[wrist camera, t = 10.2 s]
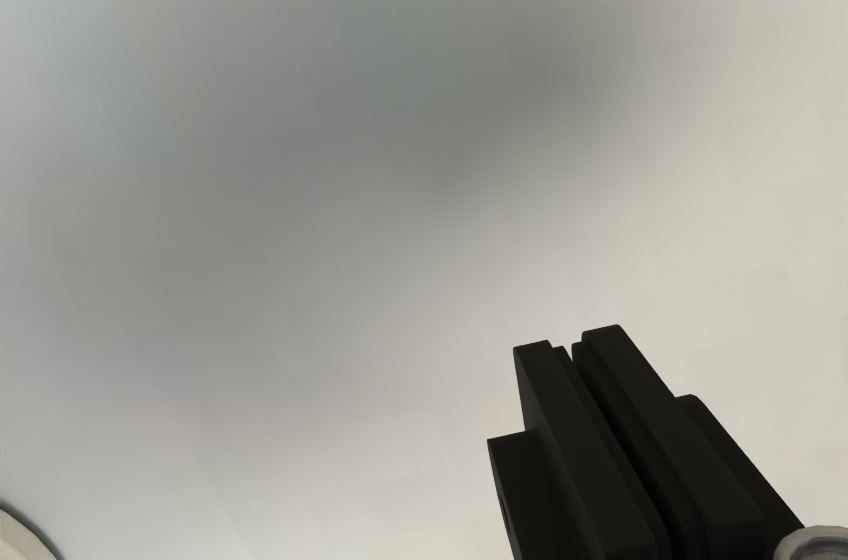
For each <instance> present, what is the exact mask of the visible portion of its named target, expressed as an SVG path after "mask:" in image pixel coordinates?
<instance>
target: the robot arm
mask: <svg viewBox="0 0 848 560" xmlns="http://www.w3.org/2000/svg"><path fill="white" fill-rule="evenodd" d="M571 349H572V360H573V362H572V360H571V358H570V356H569V355H568V353H567V351H566V349H565V348H564V346H559V347H554V348H552V346H551V344H550V342H549V341H548V340H543V341H539V342H535V343H530V344H526V345H521V346H517V347H514V348H513V355H514V362H515V368H516V375H517V381H518V387H519V394H520V400H521V407H522V413H523V419H524V426H525V431H523V432H518V433H514V434H509V435H505V436H500V437H496V438H492V439H487V444H488V450H489V456H490V461H491V466H492V471H493V476H494V481H495V486H496V490H497V495H498V499H499V503H500V508H501V512H502V516H503V520H504V524H505V527H506V531H507V535H508V538H509V542H510V546H511V549H512V553H513V556H514V560H848V528H845V527H841V526H820V525H816V526H812V527H807V528H805V526H804V525H803V524H802V523H801V522H800V520H799V519H798V518H797V517H796V516H795V514H794V513H793V512H792V511H791V509H790V508H789V507H788V506H787V505H786V503H785V502H784V501H783V500H782V498H781V497H780V496H779V495H778V494H777V492H776V491H775V490H774V489H773V487H772V486H771V485H770V484H769V483H768V481H767V480H766V479H765V478H764V476H763V475H762V474H761V473H760V472H759V470H758V469H757V468H756V467H755V465H754V464H753V463H752V462H751V461H750V459H749V458H748V457H747V456H746V454H745V453H744V452H743V451H742V450H741V448H740V447H739V446H738V445H737V444H736V442H735V441H734V440H733V439H732V437H731V436H730V435H729V434H728V433H727V431H726V430H725V429H724V428H723V426H722V425H721V424H720V423H719V422H718V420H717V419H716V418H715V417H714V415H713V414H712V413H711V412H710V411H709V409H708V408H707V407H706V406H705V404H704V403H703V402H702V401H701V400H700V399H699V398H698V397H697V396H695V395H692V394H689V395H684V396H680V397H674V395H673V394H672V393H671V391H670V390H669V389H668V387H667V386H666V385H665V383H664V382H663V381H662V380H661V378H660V377H659V376H658V374H657V373H656V372H655V370H654V369H653V368H652V366H651V365H650V364H649V363H648V361H647V360H646V359H645V357H644V356H643V355H642V353H641V352H640V351H639V349H638V348H637V347H636V346H635V344H634V343H633V342H632V340H631V339H630V338H629V336H628V335H627V334H626V332H625V331H624V330H623V328H622V327H621V326H620V325H617V324H615V325H611V326H606V327H602V328H597V329H593V330H588V331H584V332H583V333H582V341H581V342H577V343H573V344H572V347H571ZM0 560H56V558H55V557H54V555H53V554H52V553H51V552H50V551H49V550H48V549H47V548H46V547H45V546H44V544H43V543H42V542H41V541H40V540H39V539H38V538H37V537H36V536H35V535H34V534H33V533H32V532H31V531H29V530H28V529H27V528H26V527H24V526H23V525H22V524H20V523H19V522H18V521H17V520H15V519H14V518H13V517H11V516H10V515H9V514H8V513H6V512H4V511H2V510H1V509H0Z"/></svg>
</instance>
